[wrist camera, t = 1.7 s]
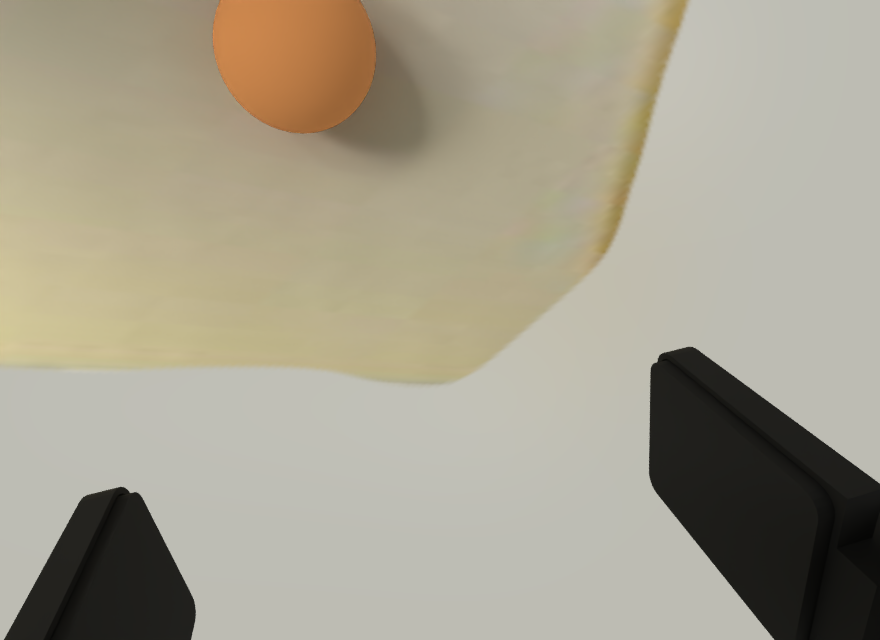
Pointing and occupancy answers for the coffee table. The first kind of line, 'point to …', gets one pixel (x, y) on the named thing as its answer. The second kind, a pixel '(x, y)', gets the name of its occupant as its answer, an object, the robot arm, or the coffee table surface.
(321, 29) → the ball
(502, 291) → the coffee table surface
